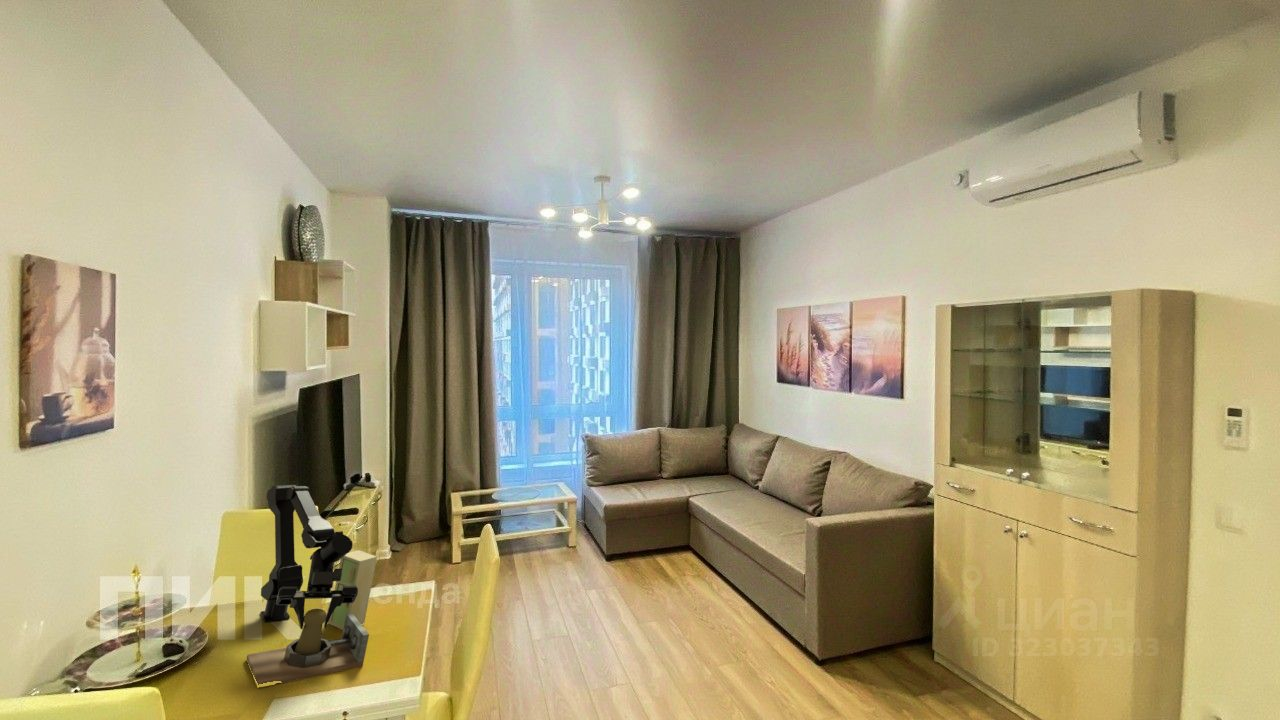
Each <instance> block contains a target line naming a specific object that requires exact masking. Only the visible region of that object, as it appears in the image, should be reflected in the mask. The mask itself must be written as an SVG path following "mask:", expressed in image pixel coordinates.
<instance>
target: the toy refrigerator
mask: <svg viewBox="0 0 1280 720" xmlns="http://www.w3.org/2000/svg"><path fill="white" fill-rule="evenodd" d="M377 559H378V558H377V556H376V555H374V554H371V553H369V552H365V551H363V550H359V549H358V550H353V551H350V552H348V553H347V554H346V555H345V556H343V557H342V558H341V559H340V560H339V565H338V569H342V576H341V580H340V581H335V586H334V590H341V588H342V586H354V585H356V586H357V587H358V594H357V597H356V599H355V601H354V602H353V603H342V604H341V606H337V607H336V608H335V610H334V611H333V613H332V615H331V617H330V619H329V621H328V624H327V625H329V626H333V627H335V628H338V629H339V630H342V631H343V628H344V623H345V618H346V614H348V613H353V615H354V616H355V617H356V618H357V620H358V621H359V622H360V623H361V624H363V623H364V624H365V622H366V615H367V611H368V605H369V600H370V596H371V590H372V584H373V580H374V575H375V569H376V563H377Z"/></svg>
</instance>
